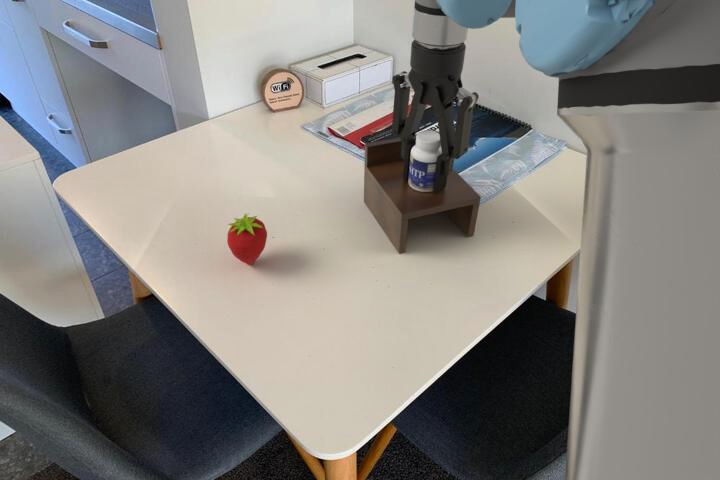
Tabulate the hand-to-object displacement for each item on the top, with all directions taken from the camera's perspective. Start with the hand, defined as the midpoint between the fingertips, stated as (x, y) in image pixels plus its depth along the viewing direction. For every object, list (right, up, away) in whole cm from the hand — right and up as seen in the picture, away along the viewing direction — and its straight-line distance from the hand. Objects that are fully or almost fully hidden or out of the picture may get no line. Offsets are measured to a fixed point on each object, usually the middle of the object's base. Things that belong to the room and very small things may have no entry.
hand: (424, 182), depth 87 cm
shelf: (-1, -6, +6) cm, 8 cm away
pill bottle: (0, 0, 0) cm, 0 cm away
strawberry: (-28, -13, -3) cm, 31 cm away
